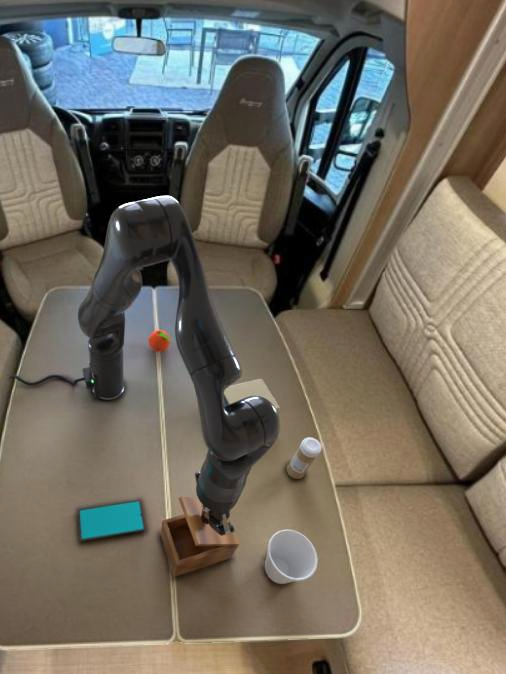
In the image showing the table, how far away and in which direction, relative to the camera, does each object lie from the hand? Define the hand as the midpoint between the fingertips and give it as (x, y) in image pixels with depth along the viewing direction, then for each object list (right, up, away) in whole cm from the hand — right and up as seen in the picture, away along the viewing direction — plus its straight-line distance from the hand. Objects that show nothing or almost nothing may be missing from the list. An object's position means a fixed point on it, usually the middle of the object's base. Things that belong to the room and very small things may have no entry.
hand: (207, 518), depth 82 cm
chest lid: (+1, -2, +2) cm, 3 cm away
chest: (-1, -11, +12) cm, 16 cm away
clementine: (-8, +37, +52) cm, 64 cm away
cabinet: (+16, +17, +36) cm, 43 cm away
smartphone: (-21, -6, +15) cm, 26 cm away
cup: (+17, -15, +10) cm, 25 cm away
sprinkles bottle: (+27, +3, +25) cm, 37 cm away
